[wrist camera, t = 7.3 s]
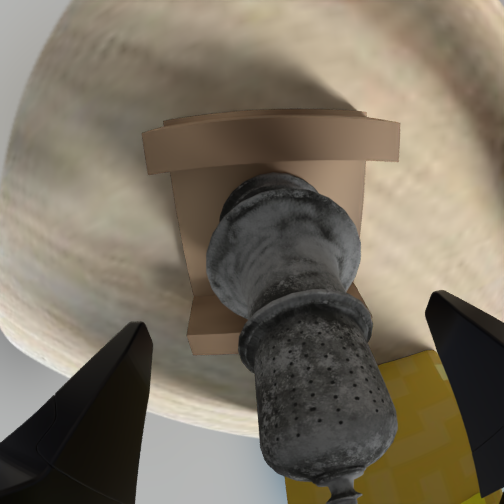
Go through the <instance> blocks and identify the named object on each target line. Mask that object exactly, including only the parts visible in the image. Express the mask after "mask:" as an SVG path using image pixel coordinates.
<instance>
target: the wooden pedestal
mask: <svg viewBox="0 0 504 504" xmlns="http://www.w3.org/2000/svg"><path fill="white" fill-rule="evenodd" d="M163 123H164V127H160V128H157V129H153V130H150V131H147V132H143V133H142V139H143V146H144V152H145V159H146V165H147V171H148V175H152V174H159V173H166V172H170V176H171V182H172V188H173V194H174V200H175V206H176V212H177V218H178V223H179V228H180V234H181V239H182V244H183V249H184V254H185V259H186V264H187V268H188V273H189V278H190V282H191V287H192V291H193V295H194V298H193V303H192V308H191V314H190V319H189V325H188V331H187V338H188V341H189V344H190V347H191V350H192V353H193V355H220V354H238V353H239V352H238V341H239V335H240V333H241V331H242V329H243V327H244V325H245V323H246V322H247V321H248V319H246V318H244V317H242V316H239V315H237V314H235V313H234V312H232V311H231V310H230V309H229V308H228V307H226V306H225V305H224V304H223V303H221V301H220V300H219V298H218V297H217V296H216V294H215V293H214V291H213V290H212V288H211V285H210V282H209V279H208V276H207V273H206V252H207V249H208V246H209V242H210V239H211V236H212V233H213V232H214V230H215V229H216V227H217V226H218V224H219V218H220V214H221V211H222V208H223V205H224V203H225V201H226V200H227V199H228V197H229V196H230V194H231V193H232V191H234V190H235V189H236V188H237V187H238V186H239V185H241V184H242V183H243V182H244V181H246V180H249V179H251V178H253V177H255V176H257V175H261V174H267V173H272V172H275V173H287V174H291V175H294V176H296V177H299V178H302V179H304V180H305V181H306V182H308V183H309V184H310V185H312V186H313V187H314V188H315V189H316V190H317V191H318V193H319V194H321V195H324V196H327V197H329V198H330V199H332V200H333V201H334V202H335V203H337V204H338V205H339V206H341V207H342V208H343V209H344V210H345V211H346V212H347V214H348V215H349V217H350V218H351V220H352V221H353V223H354V224H355V225H356V228H357V232H358V235H359V238H360V230H361V220H362V210H363V198H364V185H365V167H366V161H390V162H399V146H400V123H398V122H393V121H387V120H381V119H375V118H369V117H367V112H362V111H349V110H330V109H269V110H249V111H236V112H224V113H215V114H206V115H198V116H191V117H184V118H177V119H171V120H166V121H163ZM353 281H354V280H353ZM346 293H349V294H350V295H352V296H354V297H355V298H357V299H359V300H360V301H362V303H363V304H364V305H365V306H366V304H365V302H364V300H363V299H362V297H361V295H360V293H359V291H358V290H357V288H356V286H355V284H354V283H353V282H352V283H351V285H350V287H349V288H348V290H347V292H346ZM366 308H367V306H366ZM367 309H368V308H367ZM369 312H370V311H369ZM370 315H371V313H370ZM371 319H372V315H371Z"/></svg>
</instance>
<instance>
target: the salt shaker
mask: <svg viewBox="0 0 504 504" xmlns="http://www.w3.org/2000/svg"><path fill="white" fill-rule="evenodd" d="M360 260H361V242H360V238H359V235H358V232H357V228H356V225H355V224H354V223H353V221H352V220H351V218H350V217H349V215H348V214H347V212H346V211H345V210H344V209H343V208H342V207H341V206H339V205H338V204H337V203H335V202H334V201H333V200H332V199H330V198H329V197H327V196H324V195H321V194H319V193H318V191H317V190H316V189H315V188H314V187H313V186H312V185H310V184H309V183H308V182H306V181H305V180H304V179H302V178H299V177H296V176H294V175H291V174H287V173H275V172H272V173H267V174H261V175H257V176H255V177H253V178H251V179H249V180H246V181H244V182H243V183H242V184H241V185H239V186H238V187H237V188H236V189H235V190H234V191H232V193H231V194H230V196H229V197H228V199H227V200H226V201H225V203H224V205H223V208H222V211H221V214H220V218H219V224H218V226H217V227H216V229H215V230H214V232H213V233H212V236H211V239H210V242H209V246H208V249H207V252H206V273H207V276H208V279H209V282H210V285H211V288H212V290H213V291H214V293H215V294H216V296H217V297H218V298H219V300H220V301H221V303H223V304H224V305H225V306H226V307H228V308H229V309H230V310H231V311H232V312H234V313H235V314H237V315H239V316H242V317H244V318H246V319H248V321H247V322H246V323H245V325H244V327H243V329H242V331H241V333H240V335H239V341H238V352H239V355H240V358H241V361H242V362H243V364H244V365H245V366H246V367H247V368H248V369H249V370H250V371H251V372H253V373H255V384H256V398H257V411H258V424H259V437H260V448H261V451H262V454H263V457H264V460H265V461H266V463H267V464H268V465H269V466H270V467H271V468H272V469H273V470H274V471H275V472H277V473H278V474H280V475H283V476H285V477H288V478H290V479H293V480H295V481H303V482H312V483H313V484H315V485H316V486H318V487H327V486H328V488H329V490H330V492H331V498H330V499H329V500H328V501H327V502H326V503H325V504H357V498H358V497H360V496H362V495H363V494H361V493H359V492H356V491H355V490H354V479H356V478H358V477H360V476H362V475H363V474H364V471H365V470H366V467H368V466H370V465H371V464H373V463H374V462H376V461H377V460H379V459H380V458H381V457H382V456H383V454H384V453H385V452H386V451H387V450H388V448H389V447H390V446H391V444H392V443H393V441H394V438H395V435H396V432H397V430H398V423H397V414H396V409H395V407H394V404H393V402H392V399H391V397H390V394H389V392H388V389H387V387H386V384H385V382H384V380H383V377H382V375H381V373H380V370H379V368H378V366H377V363H376V361H375V359H374V356H373V354H372V352H371V350H370V347H369V345H368V341H369V339H370V337H371V334H372V327H373V323H372V319H371V315H370V312H369V310H368V309H367V308H366V306H365V305H364V304H363V303H362V301H360V300H359V299H357V298H355V297H354V296H352V295H350V294H349V293H346V292H347V290H348V288H349V287H350V285H351V283H352V282H353V280H354V278H355V277H356V274H357V270H358V267H359V264H360Z"/></svg>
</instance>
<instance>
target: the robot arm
mask: <svg viewBox="0 0 504 504" xmlns="http://www.w3.org/2000/svg"><path fill="white" fill-rule="evenodd" d="M425 317H426V320H427V323H428V326H429V329H430V332H431V334H432V337H433V340H434V343H435V346H436V350H437V352H438V355H439V358H440V360H441V363H442V365H443V368H444V370H445V373H446V375H447V378H448V380H449V383H450V385H451V388H452V391H453V394H454V396H455V399H456V402H457V405H458V408H459V411H460V414H461V417H462V420H463V423H464V427H465V430H466V433H467V437H468V440H469V444H470V448H471V452H472V456H473V461H474V465H475V470H476V474H477V479H478V485H479V490H480V496H481V498H484V497H486V496H488V495H490V494H492V493H494V492H496V491H498V490H500V489H501V488H503V487H504V323H503V322H502V321H500V320H498V319H496V318H495V317H493V316H491V315H489V314H487V313H486V312H484V311H482V310H480V309H478V308H476V307H475V306H473V305H471V304H469V303H467V302H465V301H464V300H462V299H460V298H458V297H456V296H454V295H452V294H450V293H448V292H446V291H444V290H439V291H434V292H433V293H432V294H431V297H430V299H429V302H428V305H427V308H426V311H425ZM152 353H153V343H152V339H151V337H150V335H149V332H148V330H147V327H146V325H145V323H144V322H141V321H136V322H130V323H128V324H127V325H126V326H125V327H124V328H123V329H122V330H121V331H120V332H119V333H118V334H117V335H116V336H114V337H113V338H112V339H111V340H110V341H109V342H108V343H107V344H106V345H105V346H104V347H103V348H102V349H101V350H100V351H99V352H97V353H96V354H95V355H94V356H93V357H92V358H91V359H90V360H89V361H88V362H87V363H86V364H85V365H84V366H83V367H82V368H81V369H80V370H79V371H78V372H77V373H76V374H75V375H74V376H73V377H71V378H70V380H68V381H67V383H65V384H64V386H62V387H61V388H60V389H59V390H58V391H57V392H56V393H55V395H53V396H52V397H51V398H50V399H49V400H48V401H47V402H46V403H45V404H44V405H43V406H42V407H41V408H40V409H39V410H38V411H37V412H36V413H35V414H33V415H32V416H31V417H30V418H29V419H28V420H27V421H26V422H24V423H23V424H22V425H21V426H20V427H18V428H17V429H16V430H15V431H14V432H13V433H11V434H10V435H9V436H8V437H7V438H5V439H4V440H3V441H2V442H0V504H135V496H136V485H137V476H138V467H139V459H140V451H141V443H142V436H143V429H144V423H145V416H146V410H147V404H148V399H149V392H150V379H151V365H152ZM499 504H504V492H503V494H502V497H501V499H500V502H499Z"/></svg>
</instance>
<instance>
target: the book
mask: <svg viewBox="0 0 504 504" xmlns="http://www.w3.org/2000/svg"><path fill="white" fill-rule="evenodd" d="M377 366H378V368H379V370H380V373H381V375H382V377H383V380H384V382H385V384H386V387H387V389H388V392H389V394H390V397H391V399H392V402H393V404H394V407H395V409H396V414H397V423H398V430H397V432H396V435H395V438H394V441H393V443H392V444H391V446H390V447H389V448H388V450H387V451H386V452H385V453H384V454H383V456H382V457H381V458H380V459H379V460H377V461H376V462H374V463H373V464H371V465H370V466H368V467H366V470H365V471H364V474H363V475H362V476H360V477H358V478H356V479H354V490H355V491H356V492H359V493H361V494H363V495H362V496H360V497H358V498H357V504H499V502H500V499H501V497H502V494H503V493H502V490H501V489H500V490H498V491H496V492H494V493H492V494H490V495H488V496H486V497H484V498H481V496H480V490H479V485H478V479H477V474H476V470H475V465H474V461H473V456H472V452H471V448H470V444H469V440H468V437H467V433H466V430H465V427H464V423H463V420H462V417H461V414H460V411H459V408H458V405H457V402H456V399H455V396H454V394H453V391H452V388H451V385H450V383H449V380H448V378H447V375H446V373H445V370H444V368H443V365H442V363H441V360H440V358H439V355H438V354H437V353H436V352H435V351H434V350H426V351H423V352H420V353H417V354H414V355H411V356H408V357H405V358H401V359H398V360H395V361H391V362H388V363H384V364H381V365H377ZM285 484H286V492H287V500H288V504H325V503H326V502H327V501H328V500H329V499H330V498H331V492H330V490H329V488H328V486H327V487H318V486H316V485H315V484H313V483H312V482H303V481H295V480H293V479H290V478H288V477H285Z"/></svg>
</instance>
